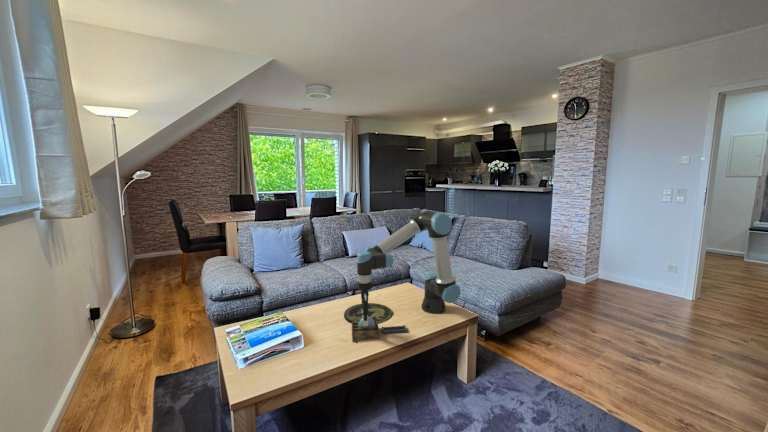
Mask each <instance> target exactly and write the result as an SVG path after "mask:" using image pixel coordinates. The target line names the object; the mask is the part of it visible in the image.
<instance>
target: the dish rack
mask: <svg viewBox="0 0 768 432" xmlns="http://www.w3.org/2000/svg"><path fill="white" fill-rule="evenodd" d="M374 322H375V327H369V328H359V327H358V324H359V322H352V324H351V339H352V343H353V342H354V343H356V342H357V343H358V342H359V341H362V340H363V341H364V340H365V341H366V340H376V339H377V340H379V339H380V328H379V325H378V323H377V321H374Z"/></svg>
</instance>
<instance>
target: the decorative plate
mask: <svg viewBox="0 0 768 432" xmlns="http://www.w3.org/2000/svg"><path fill="white" fill-rule="evenodd" d="M362 310H363V309H362V303H358V304H354V305H351V306H350V307H348V308H347V309H346V310H345V311H344V313H343V318H344V320H345V321H346V322H348V323H349V324H350V325H352V322H359V321H360V320H361V319H362ZM393 315H394V313H393V310H392V309H391V308H390V307H389V306H387V305H384V304H380V303H374V302H368V317H370V318H372V319H373V320H374V321H377V323H378V324H383V323H385V322H387V321H389V320H390V319H392V317H393Z"/></svg>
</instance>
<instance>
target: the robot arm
mask: <svg viewBox="0 0 768 432" xmlns="http://www.w3.org/2000/svg"><path fill="white" fill-rule="evenodd" d="M452 227H453V222H452V220H451V218H450V217H449V215H448V214H446V213H444V212H440V211H433V210H425V211H423V212H421V213H418V214H417V215H415V216H414V217H412V218H411V219H410V220H409V222H408V223H407V224H406V225H404V226H402V227H401V228H399V229H398V230H397V231H395V232H394V233H392V234H390V235H389V236H387V237H386V238H385V239H383V240H382V241H380V242H379V243H378V244H376V245H375V246H373V247H367V248H366V249H365V250H364V251H359V252H357V254H356V269H357V271H356V273H357V275H355V277H356V279H357V282H356V283H357V290H359V291H360V298H361V304H362V309H363V310H362V318H363V326H368V303H369V296H370V295H369V294H370V293H369V290H371V289H372V288H373V287H372V286H373V282H372V280H373V279H372V278H373V273H372V272H373V270H380V269H387V268H388V269H389V268H391V267H392V266H393V264H394V257H393V255H392V254H391V253H390V252H391V251H394V249H396V248H398V246H400V245H402V244H403V243H405V242H406V241H407V240H409V239H410V238H412V237H413V236H414V235H416V234H420V233H422V232H424V231H427V232H428V238H429V239H431V242H432V248H433V254H434V262H435V269H436V272H429V273H426V274H425V276H424V297H423V300H422V302H421V309H422V310H423V311H424V313H425V312H426V313H429V314H442V313H444V312H445V311H446V308H447V307H446V303H449V304H452V303H453V304H454V303H455V302H456V301H457V300H458V299H459V298H460V296H461V287H460V286H459V285H458V284H457V283H456V277H455V276H454V275H453V273H452V264H451V258H450V250H449V243H448V242H449V241H448V237H449V235H450V231H451V229H452Z"/></svg>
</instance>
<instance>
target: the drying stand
mask: <svg viewBox="0 0 768 432" xmlns="http://www.w3.org/2000/svg"><path fill="white" fill-rule="evenodd" d="M381 331H382V335H393V334H407V333H408V329H407V327H406V325H405V324H403V325H396V326H395V325H394V326H381Z"/></svg>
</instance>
